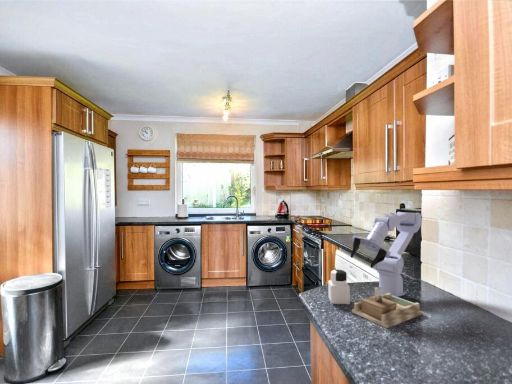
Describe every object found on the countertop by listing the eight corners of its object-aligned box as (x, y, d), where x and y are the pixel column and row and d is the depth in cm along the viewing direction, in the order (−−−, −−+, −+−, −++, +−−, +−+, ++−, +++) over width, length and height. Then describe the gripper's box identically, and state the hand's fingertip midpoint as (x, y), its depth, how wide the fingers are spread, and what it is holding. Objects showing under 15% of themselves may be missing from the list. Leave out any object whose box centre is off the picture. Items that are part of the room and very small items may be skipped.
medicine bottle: (345, 297, 114) (345, 268, 114) (350, 304, 107) (349, 273, 107) (328, 297, 115) (328, 268, 115) (331, 304, 108) (331, 273, 108)
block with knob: (376, 306, 103) (375, 282, 103) (396, 314, 96) (396, 289, 96) (361, 310, 99) (361, 286, 99) (381, 319, 92) (381, 293, 92)
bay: (386, 300, 110) (386, 292, 110) (422, 314, 98) (422, 304, 98) (351, 312, 100) (351, 302, 100) (387, 328, 88) (386, 317, 88)
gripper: (359, 223, 112) (344, 245, 104) (397, 239, 104) (383, 264, 96) (357, 234, 116) (342, 256, 109) (392, 250, 108) (379, 275, 101)
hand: (361, 260), depth 103 cm, fingers open, 7 cm apart
